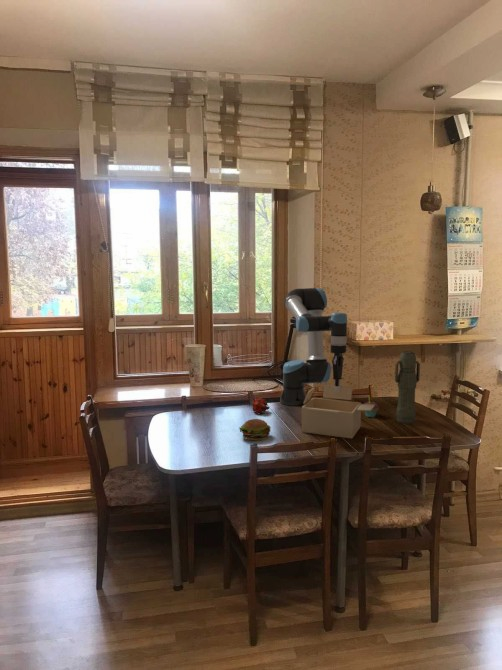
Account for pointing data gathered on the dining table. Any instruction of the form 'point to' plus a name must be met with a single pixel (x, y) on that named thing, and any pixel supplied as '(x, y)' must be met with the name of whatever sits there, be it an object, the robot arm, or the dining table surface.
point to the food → (255, 429)
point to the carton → (331, 418)
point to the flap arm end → (308, 395)
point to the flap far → (344, 393)
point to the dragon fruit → (259, 405)
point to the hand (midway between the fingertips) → (337, 392)
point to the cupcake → (374, 410)
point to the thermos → (406, 386)
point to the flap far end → (365, 407)
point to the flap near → (324, 410)
